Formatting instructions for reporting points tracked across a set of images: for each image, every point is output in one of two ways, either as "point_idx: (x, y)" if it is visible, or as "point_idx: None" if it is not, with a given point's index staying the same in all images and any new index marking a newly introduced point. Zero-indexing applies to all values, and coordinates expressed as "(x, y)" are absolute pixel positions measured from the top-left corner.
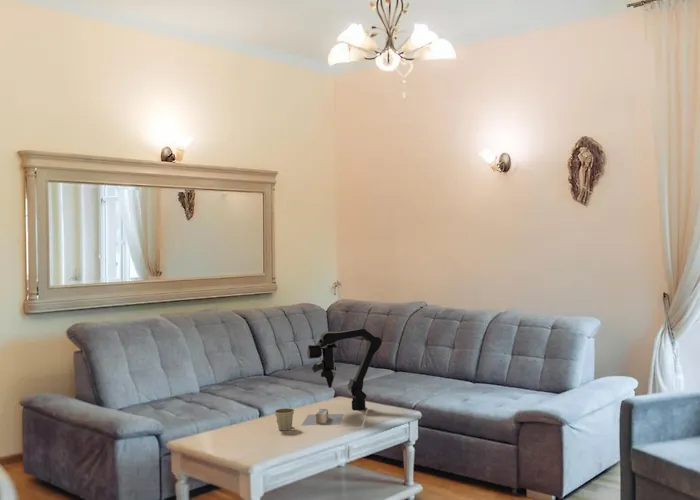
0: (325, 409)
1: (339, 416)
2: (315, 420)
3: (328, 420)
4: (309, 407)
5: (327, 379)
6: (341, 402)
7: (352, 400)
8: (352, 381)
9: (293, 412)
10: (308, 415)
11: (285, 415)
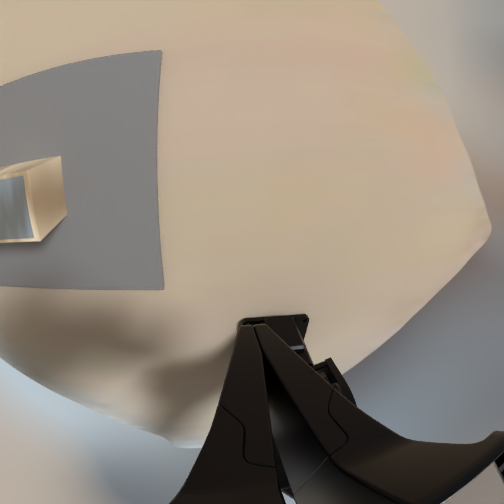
0: (16, 228)
1: (101, 273)
2: (14, 148)
3: None
4: (397, 64)
5: (206, 461)
6: (436, 239)
7: (293, 350)
8: (285, 477)
9: None
10: (133, 59)
11: None
